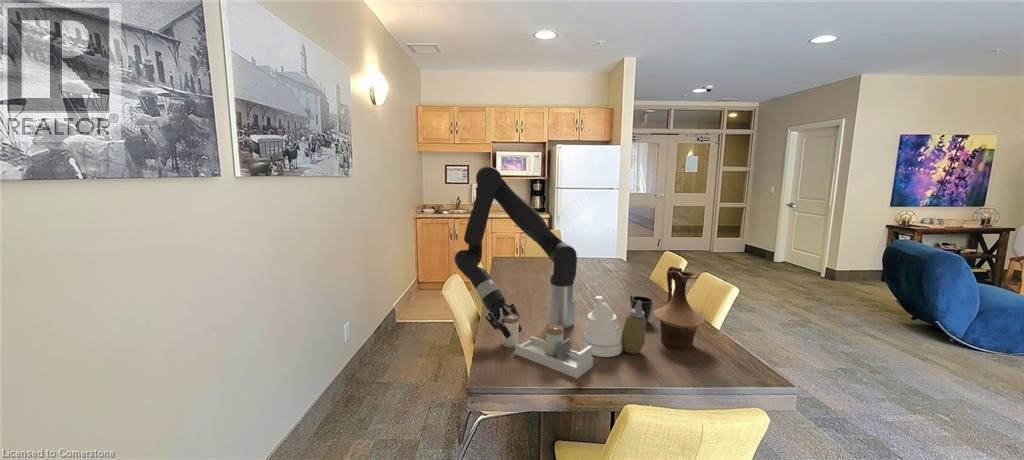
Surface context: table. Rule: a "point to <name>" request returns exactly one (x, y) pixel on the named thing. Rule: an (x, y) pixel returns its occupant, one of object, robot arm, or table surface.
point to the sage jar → (553, 339)
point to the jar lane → (569, 366)
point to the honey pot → (603, 331)
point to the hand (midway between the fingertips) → (514, 334)
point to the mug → (645, 304)
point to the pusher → (564, 350)
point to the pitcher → (678, 312)
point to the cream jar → (511, 330)
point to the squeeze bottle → (634, 330)
